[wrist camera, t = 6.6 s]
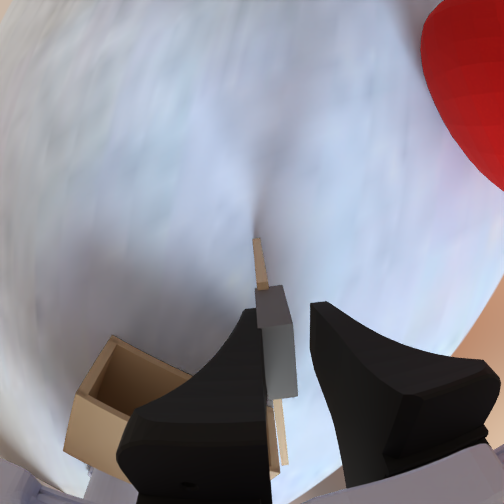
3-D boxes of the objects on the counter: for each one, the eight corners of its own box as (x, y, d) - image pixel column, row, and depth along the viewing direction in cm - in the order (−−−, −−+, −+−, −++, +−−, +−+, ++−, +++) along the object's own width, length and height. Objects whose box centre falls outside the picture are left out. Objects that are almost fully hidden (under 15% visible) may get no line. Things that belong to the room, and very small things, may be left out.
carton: (223, 456, 23) (221, 511, 17) (89, 398, 20) (63, 451, 15) (273, 408, 21) (280, 473, 15) (112, 334, 18) (75, 393, 13)
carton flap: (273, 401, 20) (283, 499, 12) (250, 239, 16) (256, 319, 8) (286, 399, 20) (302, 497, 12) (269, 236, 16) (291, 314, 8)
